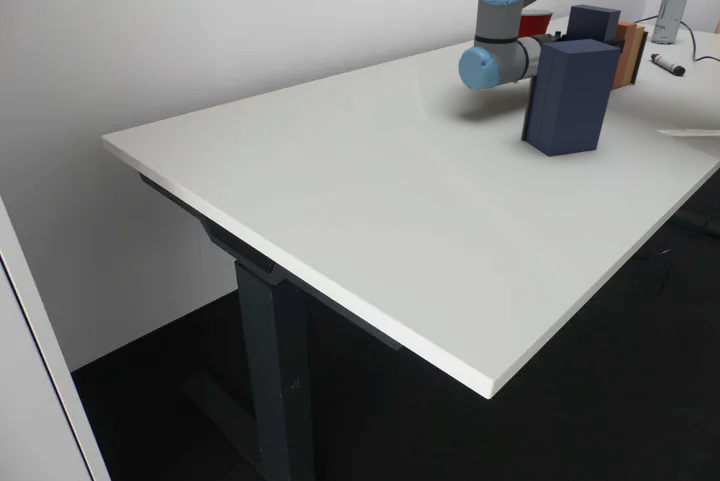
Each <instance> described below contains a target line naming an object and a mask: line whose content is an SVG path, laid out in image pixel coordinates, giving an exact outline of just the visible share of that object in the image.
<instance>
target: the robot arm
mask: <svg viewBox="0 0 720 481" xmlns="http://www.w3.org/2000/svg"><path fill="white" fill-rule="evenodd" d="M537 1H538V0H478V1H477V9H476V10H477V11H476V23H475V33H474V40H473V46H471V47H469V48H467V49H466V50H464V51H463V52H462V54H461V57H460V58H459V61H458V65H457V66H458V67H457V68H458V75H459V78H460V80H461V82H462V84H464V86H465V87H466V88H468V89H470V90H473V91H479V90H485V89H486V90H487V89H494V88H497V87H499V86H503V85H508V84H510V83H514V84H518V83H519V81H523V80H527V79H531V75H537V69H538V63H539V57H540V51H541V45H542V43H551V42H563V41H565V37H566V33H564V34H562V31H561V30H556V31H554V32H555V33H554V35H553V34H552V33H546V34H545V35H535V36H530V37H523V38H519V39H518V32H519V26H520V20H521V13H522V9H526V7H528V6H530V5H532V4H534V3H536V2H537ZM552 35H553V37H551V36H552ZM625 40H626V39H619V40H615V41H610V42H606V43H604V44H608V45H611V46H614V47H617V48H620V49H621V51H620V54H621V53H623V49H624V45H625Z"/></svg>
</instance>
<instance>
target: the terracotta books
mask: <svg viewBox="0 0 720 481" xmlns="http://www.w3.org/2000/svg"><path fill="white" fill-rule="evenodd" d="M645 28H646V26H645V25H639V24H638V23H636V22H629V21H624V20H619V22H618V26H617V30H616V34H615V39H614V41H615V40H619V39H626V40H625V45H624V49H623V53H621V54H620V55H619V59H618V63H617V67H616V71H615V75H614V79H613V83H612V87H611V91H612V90H616V89H619V88H622V87H624V86H628V85H635V84H636V81H637V76H638V74H639V70H640V66H641V62H642V58H643V54H644V51H645V47H646V43H647V41H648V40H647V39H648V37H649V36H648V35H649V33H650V32H649V31H648V30H647V31H646V30H645Z"/></svg>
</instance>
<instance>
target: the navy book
mask: <svg viewBox="0 0 720 481" xmlns="http://www.w3.org/2000/svg"><path fill="white" fill-rule="evenodd" d="M621 13H622V10H621V9H615V8H608V7H601V6H594V5H588V4H583V3H582V4H576V5H571V6H570V11H569V16H568V21H567V26H566V31H565V34H566V37H565V41H574V40H586V39H592V40H595V41H598V42H601V43H606V42H610V41H614V39H615V34H616V30H617V26H618V22H619V21H620V17H621Z"/></svg>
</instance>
